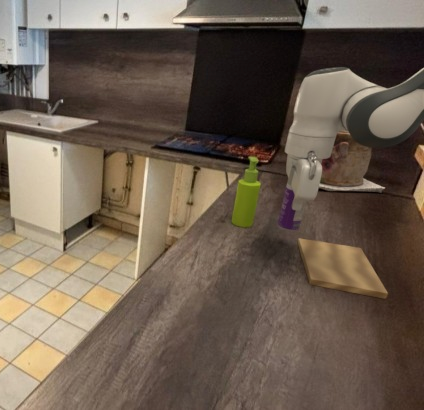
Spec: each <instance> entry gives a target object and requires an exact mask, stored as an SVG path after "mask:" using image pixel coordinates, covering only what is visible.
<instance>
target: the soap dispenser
mask: <svg viewBox="0 0 424 410" xmlns="http://www.w3.org/2000/svg"><path fill="white" fill-rule="evenodd" d="M247 157H248V159H249V166H248V168H246V169H245V171H244V176H243V178H241V179H238V181H237V182H238V183H237V188H236V193H235V199H234V205H233V210H232V217H231V222H230V223H231V224H233V225H234V226H236V227H240V228H251V227H252V226H253V224H254V219H255V214H256V209H257V204H258V201H259V200H258V199H259V196H260V191H261V185H262V183H261V181H258V176H259V170H258V169H257V164H259V159H258V157H257V156H247Z"/></svg>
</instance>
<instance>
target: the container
mask: <svg viewBox="0 0 424 410" xmlns="http://www.w3.org/2000/svg"><path fill="white" fill-rule="evenodd" d="M294 171H296V167H295V165H294V166H292V167H291V171H290V175H289V178H288V179H287V183H286V185H285V190H284V194H283V199H282V203H281V209H280V210H279V211H280V212H279V216H278V219H277V223H276V226H277V228H278V229H280V230H282V231H285V232H290V233H294V232H299V230H300V228H301V224H302V219H303V216H304V212H305V208H306V206H307V205H306V204H307V202H308V200H305V201H304V202H303V204H302V207H301V210H299V211H298V210H293V209H292V206H291V205H292V201H293V200H294V196H295V195H294V192H293V189H292V186H291V183H292V179H293V175H294ZM310 180H311V179H310Z"/></svg>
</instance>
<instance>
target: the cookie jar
mask: <svg viewBox="0 0 424 410" xmlns="http://www.w3.org/2000/svg"><path fill="white" fill-rule="evenodd" d="M372 149H373V148H369V147H365V146H363V145H361V144H359V143H357V142H356V141H355V140H354V139H353V138H352V137H351V135H350V133H349V132H348V131H339V132H337V134H336V138H335V142H334V145H333V149H332V152H331V156H330V157H329V158H327V159H322V163H321V165H322V175H321V180H320V184H319V189H321V190H325V191H327V192H369V193H370V192H371V193H373V192H374V193H381V194H382V192H383V191H384V190H385V189H386V187H385V186H381V185H380V184H376V183H375V182H373V181H370V180H367V179H366V178H364V176H365V175H366V173H367V172H368V169H369V165H370V161H371V158H372Z"/></svg>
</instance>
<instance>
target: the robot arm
mask: <svg viewBox="0 0 424 410" xmlns="http://www.w3.org/2000/svg"><path fill="white" fill-rule="evenodd" d="M298 89H299V90H298V91H297V92H298V93H297V95H296V99H295V102H294V108H293V121H292V124H291V125H290V127H289V129H288V134H287V138H286V143H285V147H284V153H285V154H287V157H286V164H285V165H286V166H285V172H286V175H287V178H288V179H289V175H290V171H291V167H292V166H294V165H295V167H296V171H294V175H293V179H292V183H291V186H292V189H293V192H294V195H295V196H294V200H293V201H292V205H291V206H292V209H293V210H298V211H299V210H301V207H302V204H303V202H304V201H305V200H307V202H309V201H310V202H313V201H315V200H316V198H317V196H318V192H319V189H320V188H319V184H320V180H321V175H322V165H321V163H322V159H327V158H329V157H330V156H331V152H332V149H333V145H334V142H335V138H336V134H337V132H339V131H348V132H349V133H350V135H351V137H352V138H353V139H354V140H355V141H356V142H357V143H359V144H361V145H363V146H365V147H369V148H372V149H384V148H385V149H386V148H390V147H393V146H396V145H398V144H401V143H402V142H404V141H406V140H407V139H409V138H410V137H411V136H413V134H414V133H415V132H416V131H417V130H418V129H419V128H420V126H421V125H422V124H423V122H424V67H423V68H421V69H419V71H417V72H416V73H414V74H413V75H412V76H410V77H409V78H408V79H406V80H405V81H403V82H402V83H400V84H398V85H394V86H392V87H388V88H387V87H384V86H381V85H379V84H376V83H373V82H372V81H371V82H370V81H368V80H366V79H364V78H363V77H360V76H359V75H357V74H356V73H354V72H353V71H352V70H351V69H350V68H349V67H344V66H338V67H328V68H322V69H317V70H314V71H311V72H309V73H308V74H307V75H306V76H305V77H304V78H303V80H302V82H301V84H300V86H299V88H298ZM310 179H311V180H310Z"/></svg>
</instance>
